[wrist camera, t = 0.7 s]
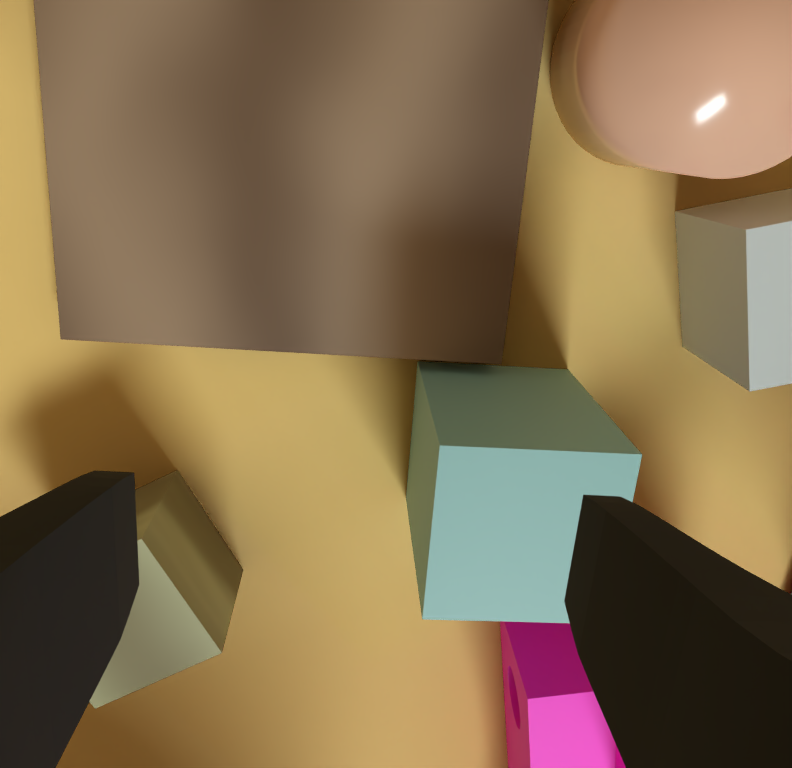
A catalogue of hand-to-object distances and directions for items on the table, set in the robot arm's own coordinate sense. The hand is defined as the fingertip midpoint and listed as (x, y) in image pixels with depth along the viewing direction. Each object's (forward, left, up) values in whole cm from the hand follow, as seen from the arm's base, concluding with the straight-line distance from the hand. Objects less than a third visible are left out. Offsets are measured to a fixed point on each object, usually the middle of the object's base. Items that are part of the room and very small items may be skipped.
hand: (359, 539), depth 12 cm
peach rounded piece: (-7, -8, -10) cm, 15 cm away
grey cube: (-11, -3, -10) cm, 15 cm away
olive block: (+6, +7, -10) cm, 14 cm away
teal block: (-4, +2, -10) cm, 11 cm away
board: (+2, -8, -10) cm, 13 cm away
